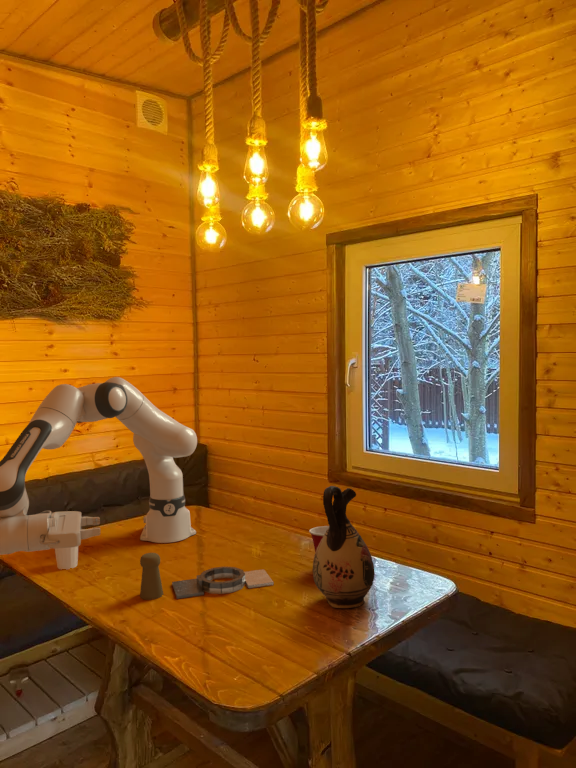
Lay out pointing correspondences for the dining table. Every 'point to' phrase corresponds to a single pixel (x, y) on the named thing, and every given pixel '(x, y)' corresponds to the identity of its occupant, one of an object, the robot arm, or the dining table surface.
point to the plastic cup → (318, 535)
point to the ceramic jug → (342, 555)
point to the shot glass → (66, 557)
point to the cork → (150, 577)
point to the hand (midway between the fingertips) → (100, 525)
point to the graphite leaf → (207, 582)
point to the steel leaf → (251, 580)
